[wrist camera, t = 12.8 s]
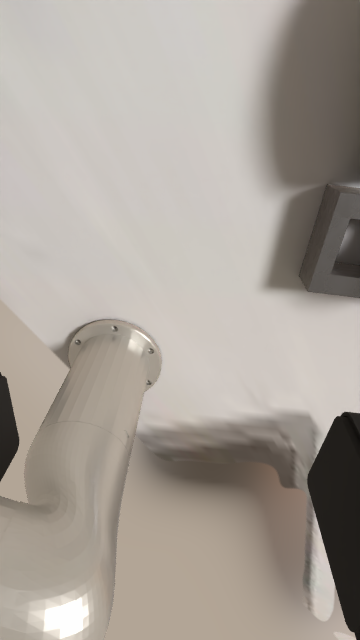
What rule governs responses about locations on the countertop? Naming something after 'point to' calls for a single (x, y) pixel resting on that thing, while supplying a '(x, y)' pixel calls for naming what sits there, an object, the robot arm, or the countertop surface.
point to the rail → (332, 245)
